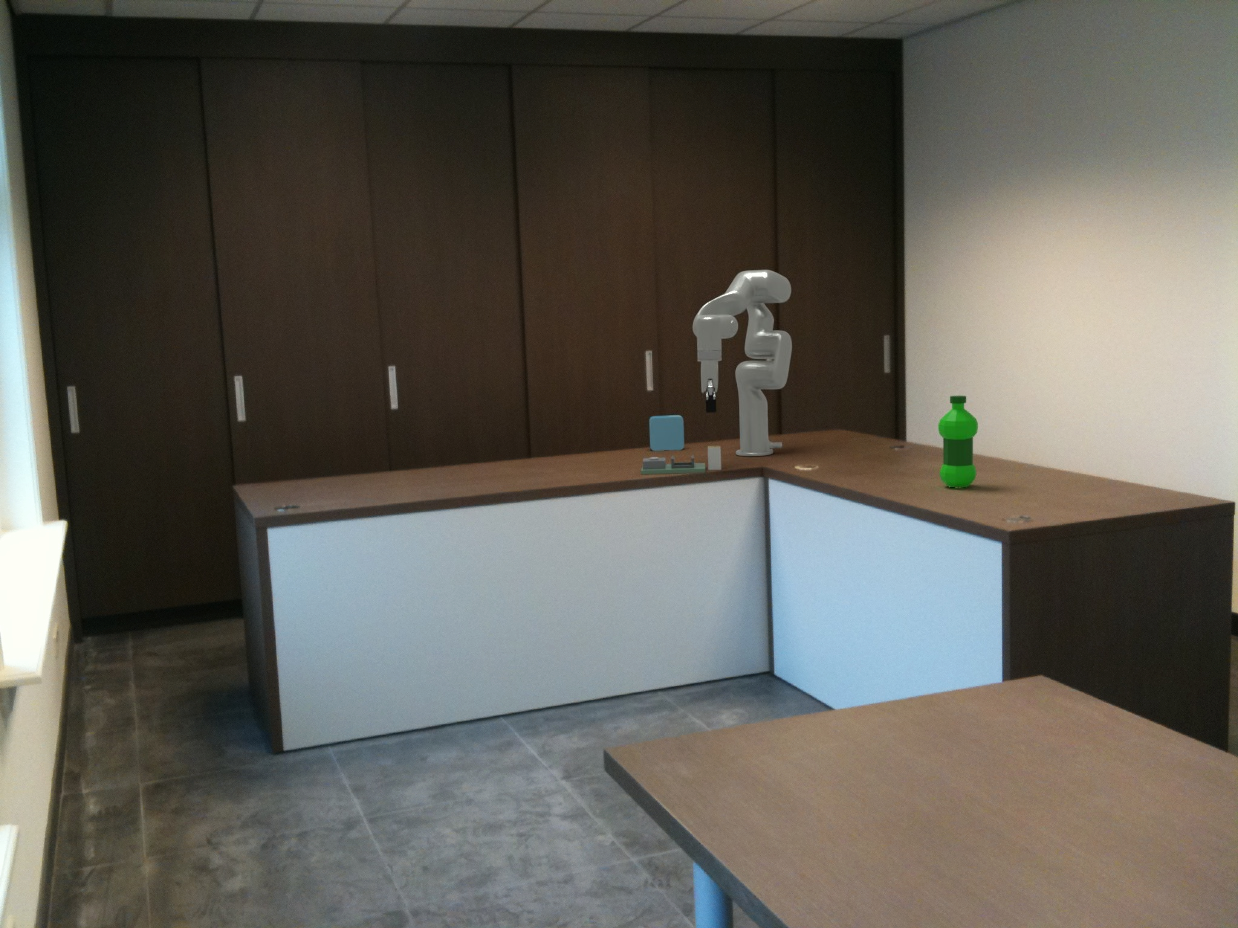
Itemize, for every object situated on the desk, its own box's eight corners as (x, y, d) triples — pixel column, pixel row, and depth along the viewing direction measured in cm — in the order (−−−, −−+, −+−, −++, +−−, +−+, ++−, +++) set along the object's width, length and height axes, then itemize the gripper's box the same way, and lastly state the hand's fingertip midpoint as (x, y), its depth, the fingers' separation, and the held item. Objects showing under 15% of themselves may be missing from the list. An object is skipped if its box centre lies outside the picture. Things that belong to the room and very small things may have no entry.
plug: (720, 467, 387) (720, 445, 386) (721, 469, 383) (720, 446, 382) (708, 468, 387) (707, 445, 386) (708, 470, 383) (707, 447, 382)
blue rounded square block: (683, 448, 436) (682, 414, 434) (684, 450, 431) (683, 416, 429) (650, 449, 436) (649, 416, 434) (650, 451, 431) (649, 417, 429)
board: (705, 466, 390) (704, 453, 389) (705, 472, 378) (705, 458, 378) (642, 468, 391) (642, 455, 391) (641, 474, 380) (640, 460, 379)
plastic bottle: (965, 482, 341) (965, 393, 338) (984, 488, 331) (984, 396, 328) (932, 485, 339) (932, 395, 336) (950, 491, 329) (950, 399, 325)
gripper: (697, 355, 389) (699, 408, 391) (697, 358, 372) (698, 414, 374) (721, 354, 388) (722, 407, 391) (721, 357, 371) (723, 413, 373)
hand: (711, 410), depth 382 cm, fingers open, 9 cm apart
